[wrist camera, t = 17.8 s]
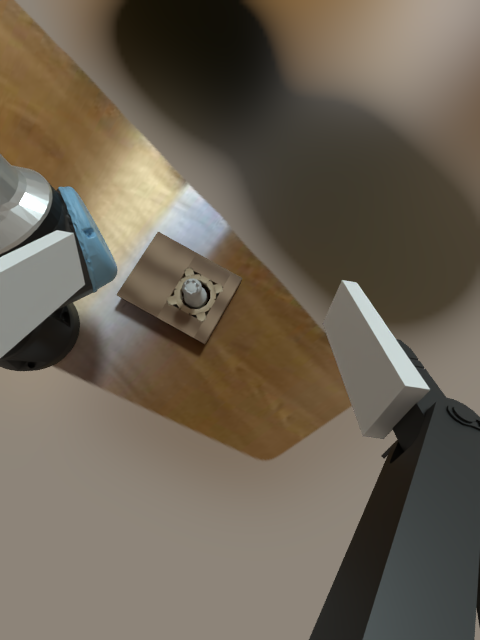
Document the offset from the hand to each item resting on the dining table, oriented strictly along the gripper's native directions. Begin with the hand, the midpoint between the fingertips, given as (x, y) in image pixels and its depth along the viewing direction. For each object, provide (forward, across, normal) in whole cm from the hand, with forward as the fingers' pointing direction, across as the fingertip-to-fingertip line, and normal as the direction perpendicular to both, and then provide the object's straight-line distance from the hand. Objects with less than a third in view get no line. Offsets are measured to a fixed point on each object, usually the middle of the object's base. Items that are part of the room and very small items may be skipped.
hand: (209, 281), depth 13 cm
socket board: (+31, +8, +20) cm, 37 cm away
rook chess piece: (+30, +5, +20) cm, 37 cm away
